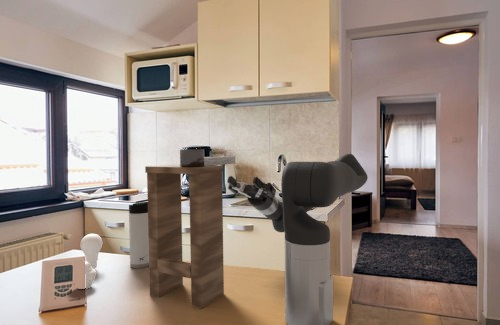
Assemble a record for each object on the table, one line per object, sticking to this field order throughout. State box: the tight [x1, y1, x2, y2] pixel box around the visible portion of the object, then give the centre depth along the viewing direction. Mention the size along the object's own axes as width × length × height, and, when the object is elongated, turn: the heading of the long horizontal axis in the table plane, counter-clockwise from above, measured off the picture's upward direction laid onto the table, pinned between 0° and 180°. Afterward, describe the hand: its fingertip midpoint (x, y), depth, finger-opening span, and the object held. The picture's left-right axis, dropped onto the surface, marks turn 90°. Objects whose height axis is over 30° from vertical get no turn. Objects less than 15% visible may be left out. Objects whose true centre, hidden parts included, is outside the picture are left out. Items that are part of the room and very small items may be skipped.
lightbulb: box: [79, 233, 104, 269], centre depth 105 cm, size 6×6×11 cm
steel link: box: [179, 149, 236, 167], centre depth 88 cm, size 6×20×4 cm, turn 151°
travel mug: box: [128, 201, 149, 269], centre depth 109 cm, size 6×7×20 cm
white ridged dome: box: [84, 261, 97, 290], centre depth 91 cm, size 6×6×7 cm
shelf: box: [144, 164, 225, 310], centre depth 86 cm, size 16×10×32 cm, turn 61°
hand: (241, 179), depth 102 cm, fingers open, 8 cm apart
